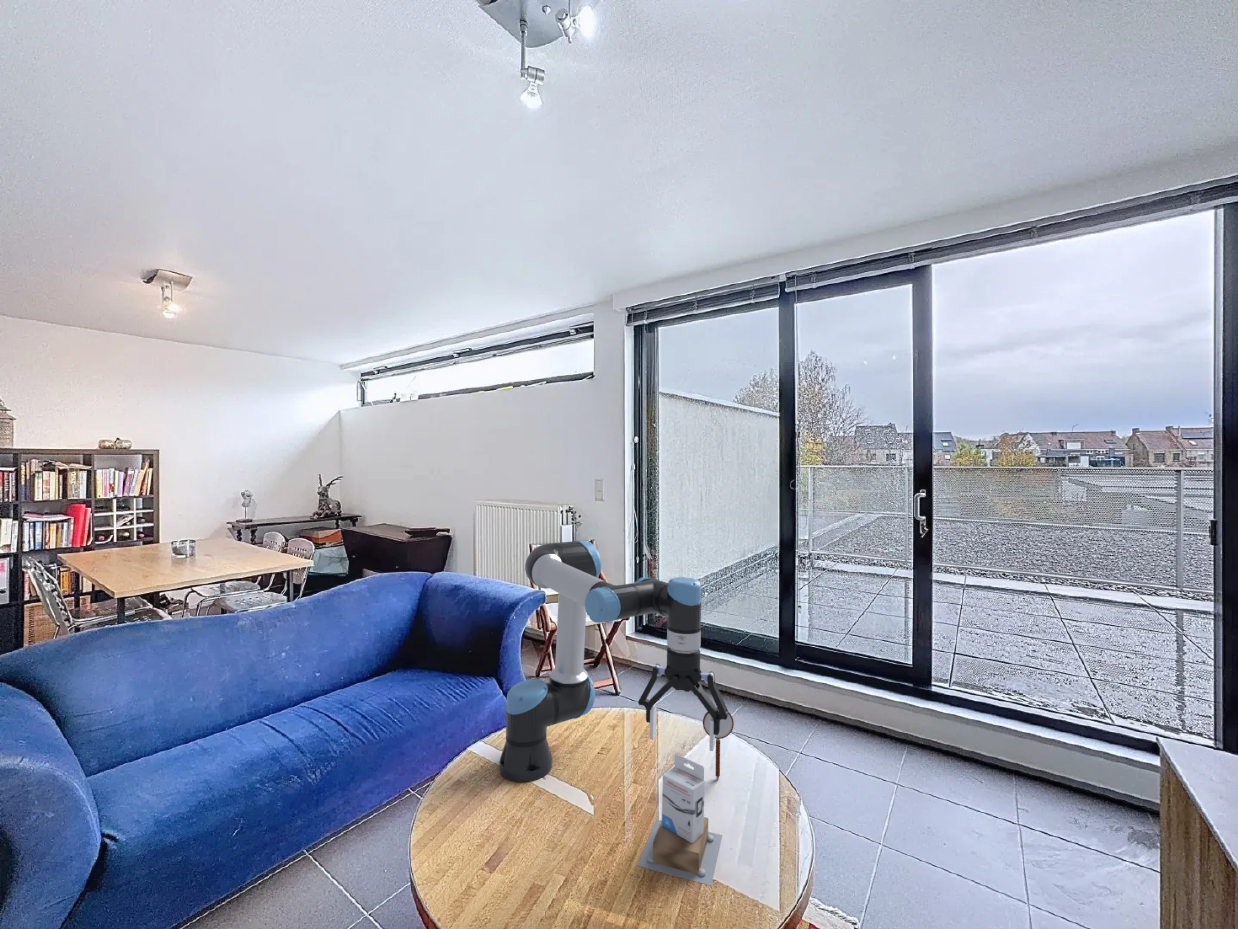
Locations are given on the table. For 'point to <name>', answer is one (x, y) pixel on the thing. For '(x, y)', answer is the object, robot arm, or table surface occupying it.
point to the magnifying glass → (719, 735)
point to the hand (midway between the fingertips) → (681, 742)
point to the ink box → (684, 799)
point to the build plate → (703, 875)
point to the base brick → (679, 850)
